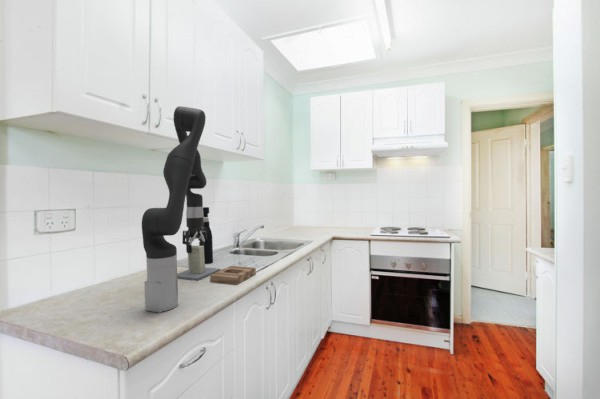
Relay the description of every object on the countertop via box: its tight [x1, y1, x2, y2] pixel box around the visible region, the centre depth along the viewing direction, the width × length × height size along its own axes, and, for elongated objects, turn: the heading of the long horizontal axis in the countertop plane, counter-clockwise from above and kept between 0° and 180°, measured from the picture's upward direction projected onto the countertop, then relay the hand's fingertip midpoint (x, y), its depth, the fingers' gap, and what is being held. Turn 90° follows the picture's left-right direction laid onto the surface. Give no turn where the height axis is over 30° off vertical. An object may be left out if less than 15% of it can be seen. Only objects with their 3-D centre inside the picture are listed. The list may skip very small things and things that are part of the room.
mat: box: [177, 267, 221, 281], centre depth 136 cm, size 16×14×1 cm
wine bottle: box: [202, 206, 214, 265], centre depth 158 cm, size 6×6×30 cm
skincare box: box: [187, 245, 206, 273], centre depth 136 cm, size 6×4×12 cm
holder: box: [209, 265, 257, 286], centre depth 129 cm, size 16×13×3 cm
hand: (195, 251), depth 135 cm, fingers open, 8 cm apart
